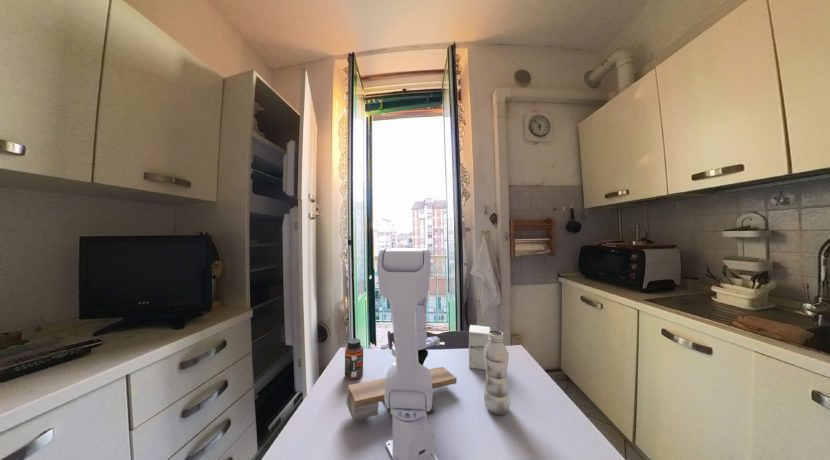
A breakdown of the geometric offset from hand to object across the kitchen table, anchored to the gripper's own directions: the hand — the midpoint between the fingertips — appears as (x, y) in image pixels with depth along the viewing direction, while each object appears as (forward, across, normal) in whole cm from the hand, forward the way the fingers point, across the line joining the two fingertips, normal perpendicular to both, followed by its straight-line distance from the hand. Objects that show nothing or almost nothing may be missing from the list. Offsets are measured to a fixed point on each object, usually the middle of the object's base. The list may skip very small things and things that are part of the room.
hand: (416, 375), depth 69 cm
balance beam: (+5, +4, 0) cm, 6 cm away
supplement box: (+7, -28, -5) cm, 30 cm away
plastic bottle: (+7, -16, +14) cm, 23 cm away
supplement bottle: (+7, +13, -20) cm, 24 cm away
